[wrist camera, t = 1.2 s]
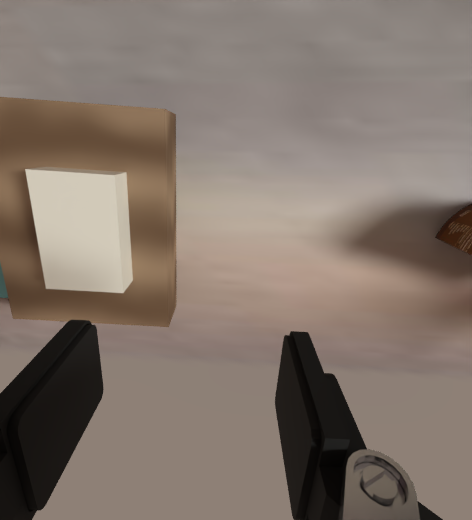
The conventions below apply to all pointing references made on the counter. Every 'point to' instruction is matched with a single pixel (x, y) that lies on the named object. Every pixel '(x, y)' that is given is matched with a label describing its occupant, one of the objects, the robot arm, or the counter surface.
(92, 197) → the cream rectangular block
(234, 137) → the counter surface
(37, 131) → the wooden box
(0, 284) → the mat
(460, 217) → the food container
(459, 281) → the counter surface
